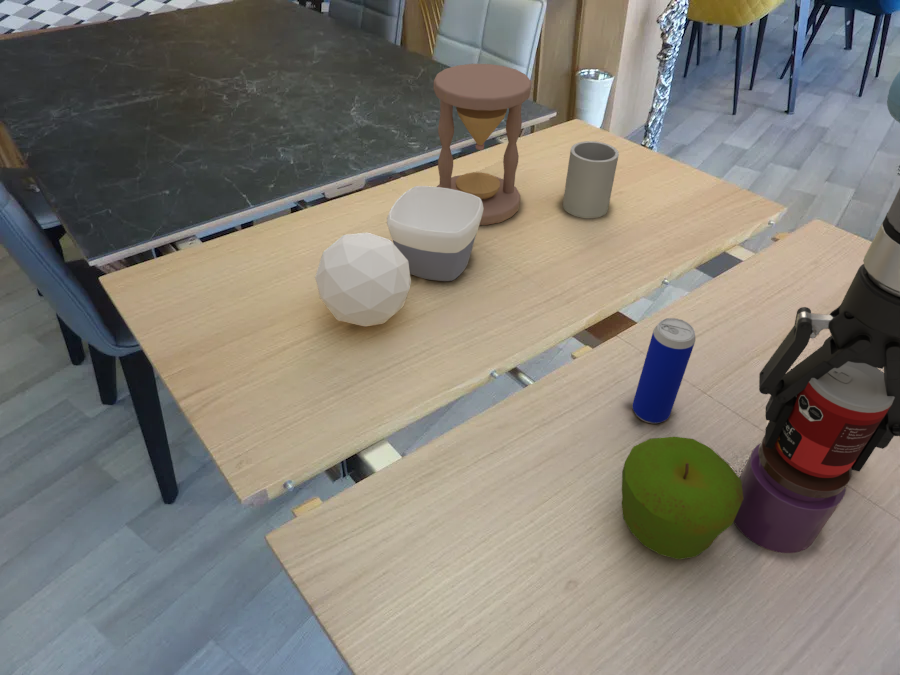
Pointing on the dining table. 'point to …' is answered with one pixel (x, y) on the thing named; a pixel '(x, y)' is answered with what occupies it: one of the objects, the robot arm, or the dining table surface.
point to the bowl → (435, 230)
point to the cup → (590, 179)
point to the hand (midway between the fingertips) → (811, 449)
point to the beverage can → (663, 369)
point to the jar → (785, 502)
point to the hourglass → (482, 130)
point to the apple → (678, 495)
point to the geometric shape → (363, 279)
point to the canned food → (834, 420)
